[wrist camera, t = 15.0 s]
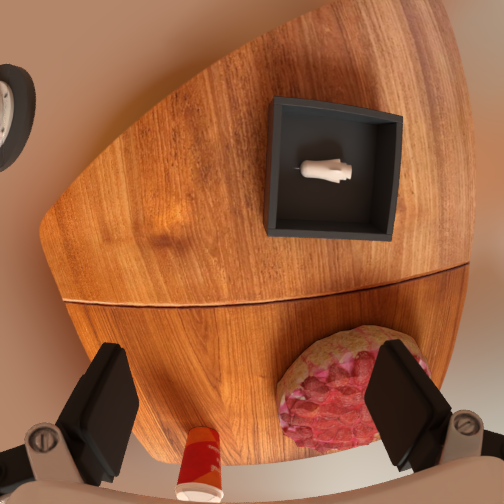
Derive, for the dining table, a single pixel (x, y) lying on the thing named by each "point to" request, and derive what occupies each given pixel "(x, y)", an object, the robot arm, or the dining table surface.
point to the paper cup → (200, 467)
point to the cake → (335, 389)
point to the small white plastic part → (326, 170)
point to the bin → (324, 191)
